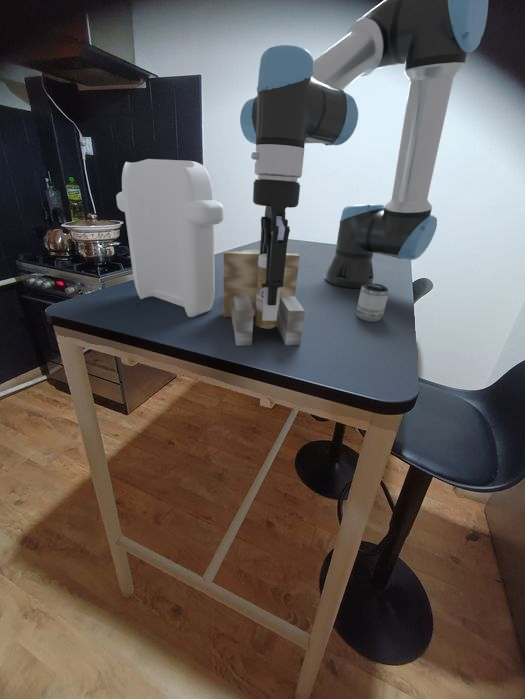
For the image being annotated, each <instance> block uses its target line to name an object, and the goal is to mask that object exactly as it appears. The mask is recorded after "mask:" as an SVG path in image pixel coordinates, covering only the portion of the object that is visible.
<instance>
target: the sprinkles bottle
mask: <svg viewBox="0 0 525 699" xmlns="http://www.w3.org/2000/svg"><path fill="white" fill-rule="evenodd" d="M266 262H267V254H261V255H259V259H258V268H259V274H258V287H257V296H256V317H255V320H254V324H255V325H256V326H257V327H258V328H262V329H274V328H275V327H276V328H277V321H262V309H263V294H264V287H262V284H265V282H266ZM279 297H280V289H279ZM278 309H279V300H278ZM277 316H278V311H277Z"/></svg>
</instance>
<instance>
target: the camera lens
mask: <svg viewBox="0 0 525 699" xmlns="http://www.w3.org/2000/svg"><path fill="white" fill-rule="evenodd" d="M389 294H390V290H389V288H388V287H386V286H385V285H383V284H380V283H376V282H375V283H374V282H373V283H369V284H365V285H363V286H362V287H361V288H360V291H359V297H358V302H357V305H356V316H357V317H358V318H359V319H360V320H362V321H366V322H380V321H381V320H382V317H383V316H384V313H385V309H386V305H387V301H388V297H389Z"/></svg>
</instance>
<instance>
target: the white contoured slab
mask: <svg viewBox="0 0 525 699" xmlns="http://www.w3.org/2000/svg"><path fill="white" fill-rule="evenodd" d="M115 197H116V198H115V199H116V206H117V208H118V210H120V211H121V212H123V213H124V216H125V224H126V230H127V238H128V245H129V255H130V262H131V268H132V276H133V283H134V286H135V290H136V293H137V294H138V297H139V299H140V300H142V299H143V300H144V299H145V298H149V297H155V298H158V299H160V300H162V301H166V302H168V303H171V304H174V305H177V306H180V307H182V308H184V310H185V313H186V315H187V317H189V318H194V317H197V316H199V315H202V314H204V313H207V312H209V311H211V309H212V307H213V305H214V300H215V292H216V291H215V274H216V273H215V270H216V269H215V226H216V225H219V224H221V223H222V222H223V221H224V219H225V218H224V215H225V214H224V213H225V211H224V210H225V209H224V208H225V207H224V205H223V204H222V203H221V202H219V201H217V200H215V199H214V198H215V197H214V189H213V184H212V179H211V177H210V174H209V172H208V170H207V169H206V167H205V166H204V165H203V164H201V163H199V162H197V161H192V160H183V159H181V160H179V159H177V160H176V159H156V158H155V159H154V158H147V159H143V160H139V161H135V162H129V161H125V163H124V164H123V168H122V173H121V191H120V192H118V193H117V194H116V196H115Z"/></svg>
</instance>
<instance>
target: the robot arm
mask: <svg viewBox="0 0 525 699" xmlns="http://www.w3.org/2000/svg"><path fill="white" fill-rule="evenodd" d="M488 11H489V0H383V1H382V2H380V3H379V4H378V5H375V7H373V8H371V10H369V11H368V12H366V13H365V14H364V15H362V16H361V17H360V18H359V19H357V20H356V21H355V22H353V23H352V24H351V26H350V27H349V28H348V30H347V32H346V34H345V35H346V36H344V37H343V38H341V39H340V40H339V41H338V42H336V43H335V44H333V45H332V46H331V47H329V48H328V49H327V50H325V51H324V52H322V53H321V54H320V55H318V56H317V57H316V58H313V56H312V54H311V51H309V50H308V49H306V48H304V47H300V46H297V45H292V44H291V45H289V44H284V45H283V44H282V45H281V44H280V45H279V44H278V45H275V46H271V47H269V48H267V49H266V50H264V51H263V53H262V54H261V57H260V62H259V68H258V69H259V70H258V78H257V79H258V80H257V81H258V82H257V87H256V92H257V94H256V96H255V97H253V98H251V99H248V100H247V101H246V102H245V103H244V104H243V106H242V107H241V110H240V116H239V123H240V129H241V131H242V134H243V136H244V138H245V139H246V140H247V141H248V142H250V143H251V144H254V145H255V151H253V152H251V156H250V158H251V159H252V160H254V161H255V162H254V174H255V175H256V176H257V179H256V178H255V179H254V180H255V181H253V192H252V193H253V194H252V202H253V204H254V205H256V206H262V207H263V206H264V207H265V210H264V216H261V218H260V241H259V242H260V243H259V245H260V246H259V250H260V255H261V254H267V262H266V282H265V284H262V287H264V294H263V309H262V321H277V311H278V300H279V289H280V287H283V284H284V283H283V280H284V271H285V261H286V253H287V248H288V242H289V235H290V232H291V230H290V226H289V223H288V222H289V220H288V219H287V218H286V209H287V208H297V206H298V205H299V202H300V192H301V184H300V182H298V179H300V178H302V176H303V167H304V166H303V165H304V158H305V144H323V145H325V146H340V145H343V144H344V143H346V142H347V141H348V140H349V139H350V138H352V135H353V134H354V132H355V130H356V128H357V125H358V120H359V106H358V103H357V101H356V99H355V98H354V97H353V96H352V95H350V94H349V93H348V92H345V89H346V88H347V87H348V86H350V85H351V84H353V82H355V81H356V80H357V79H358V78H359V77H366V76H370V75H371V74H372V73H373V72H375V71H376V70H378V69H382V68H386V67H390V66H397V65H404V71H403V72H404V74H405V76H406V78H407V79H408V82H409V87H408V93H407V100H406V104H405V105H406V106H405V112H404V118H403V125H402V129H401V130H402V131H401V139H400V143H399V149H398V150H399V151H398V157H397V163H396V169H395V174H394V175H395V176H394V181H393V189H392V193H391V194H392V195H391V199H390V201H388V202H387V203H386V204H385V205H384V204H380V203H379V204H355V205H346V206H344V208H343V210H342V213H341V216H340V220H339V228H338V232H337V233H338V234H337V240H336V246H335V252H334V255H333V258H332V259H331V262H330V264H329V265H328V268H327V270H326V274H325V280H326V281H327V282H328V283H330V284H333V285H336V286H340V287H344V288H352V289H361V287H362V286H363V285H365V284H369V283H374V277H375V276H374V268H373V267H374V266H373V259H374V258H373V257H374V254H378V255H381V256H382V255H383V256H388V257H392V258H396V259H399V260H407V261H415V260H416V259H417V260H418V258H420V257H421V256H422V255H423V254H424V253H425V252H426V250H427V249H428V248H429V246H430V244H431V242H432V240H433V239H434V238H433V237H434V235H435V233H436V230H437V226H438V223H437V222H438V218H437V217H436V216H435V215H432V209H433V206H432V204H431V203H430V202H429V199H428V197H429V193H430V189H431V184H432V180H433V175H434V169H435V165H436V161H437V156H438V151H439V147H440V142H441V138H442V133H443V129H444V128H443V127H444V123H445V119H446V115H447V110H448V105H449V101H450V96H451V90H452V86H453V83H454V78H455V76H456V75H457V74H458V72H460V70H462V68H464V66H465V64H466V60H467V55H468V54H469V53H472V52H474V51H475V50H476V49H477V48H478V46H479V45H480V43H481V41H482V37H483V36H484V33H485V28H486V24H487V20H488V13H489V12H488Z"/></svg>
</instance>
